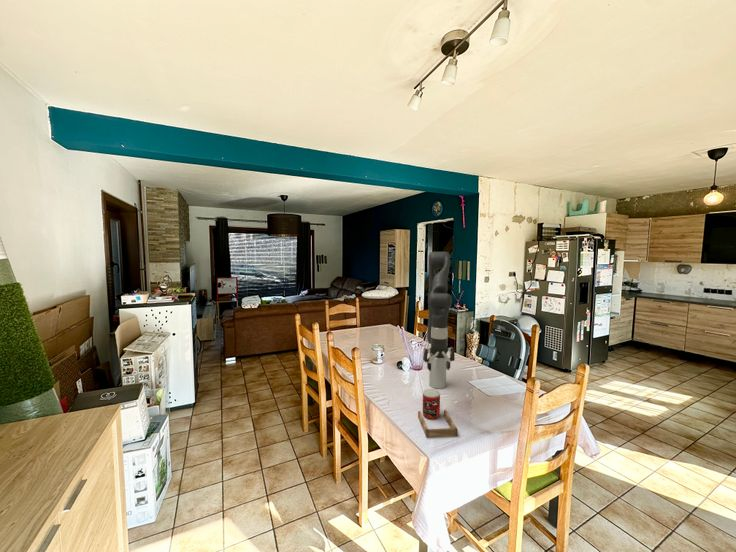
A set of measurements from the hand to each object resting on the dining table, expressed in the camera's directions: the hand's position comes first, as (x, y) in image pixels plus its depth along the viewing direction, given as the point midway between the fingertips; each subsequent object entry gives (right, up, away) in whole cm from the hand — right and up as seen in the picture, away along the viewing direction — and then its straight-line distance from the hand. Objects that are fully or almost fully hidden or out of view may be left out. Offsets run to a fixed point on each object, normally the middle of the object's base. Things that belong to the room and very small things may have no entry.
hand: (438, 369), depth 143 cm
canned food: (-4, -21, -1) cm, 21 cm away
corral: (-3, -22, -10) cm, 24 cm away
